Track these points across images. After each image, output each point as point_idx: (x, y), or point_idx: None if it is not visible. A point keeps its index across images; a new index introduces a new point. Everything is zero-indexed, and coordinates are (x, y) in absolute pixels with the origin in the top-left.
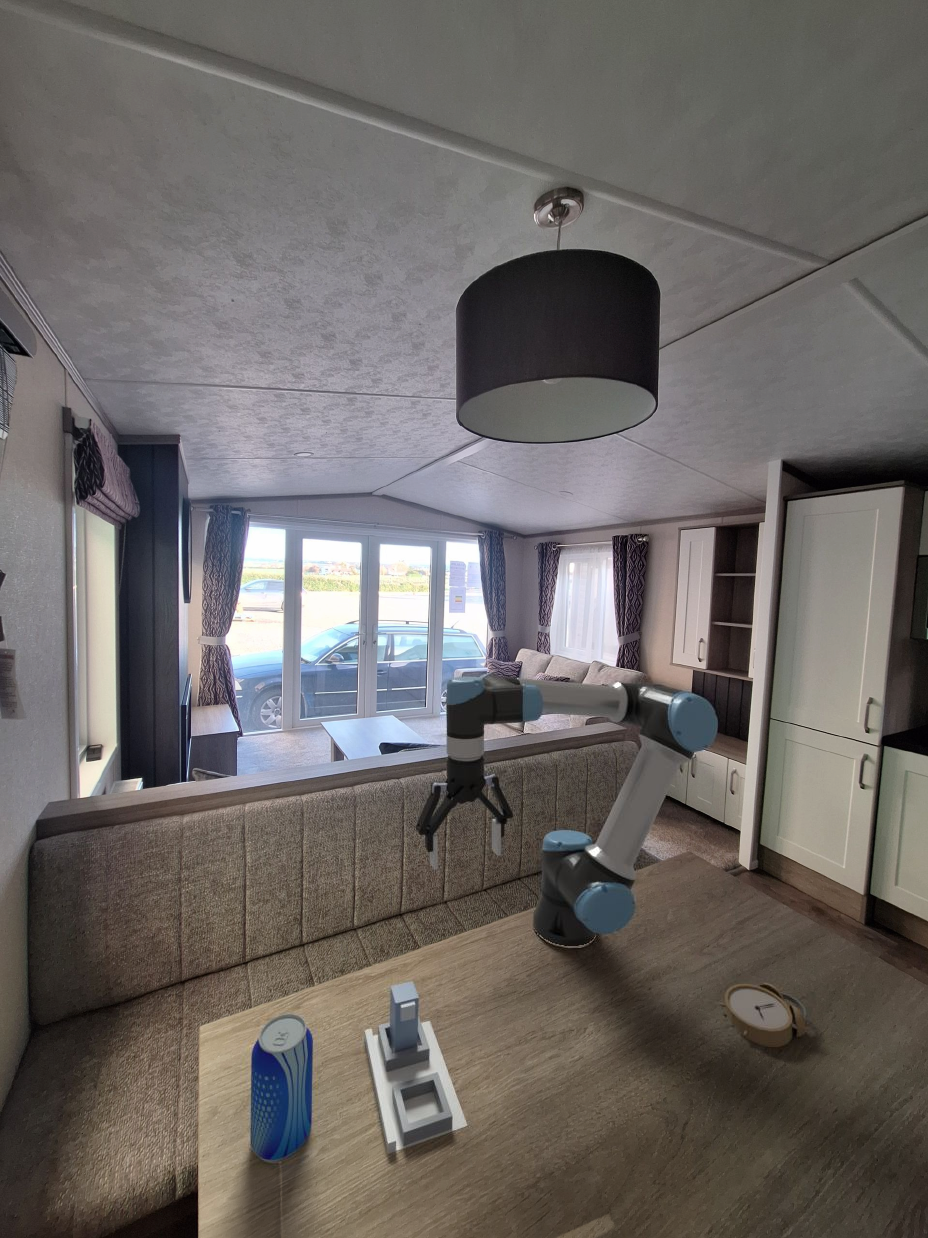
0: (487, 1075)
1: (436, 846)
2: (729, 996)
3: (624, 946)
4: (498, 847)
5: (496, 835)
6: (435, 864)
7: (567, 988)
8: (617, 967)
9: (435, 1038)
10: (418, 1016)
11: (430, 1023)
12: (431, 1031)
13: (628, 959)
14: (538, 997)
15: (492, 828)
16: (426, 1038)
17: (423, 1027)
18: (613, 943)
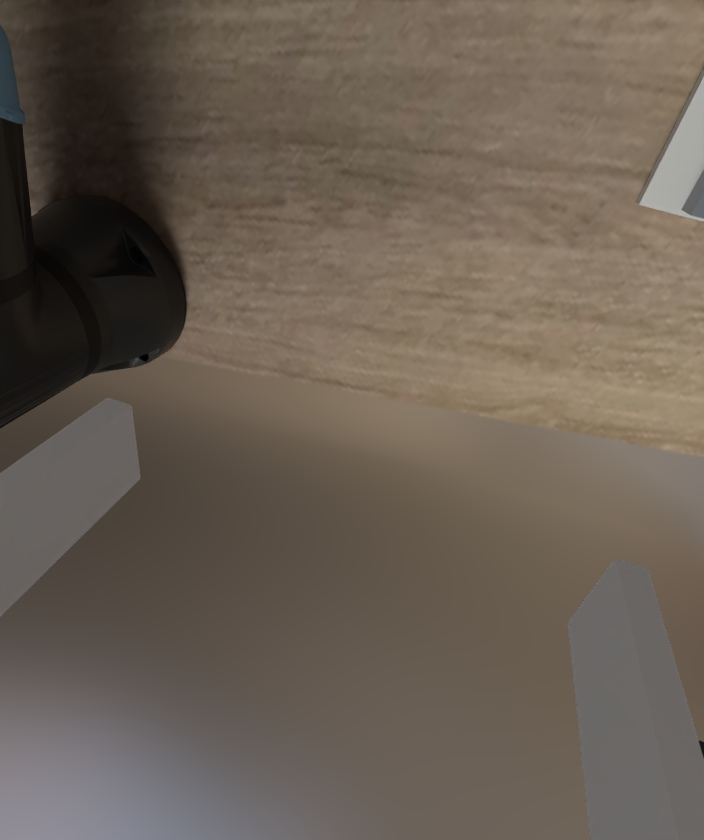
0: None
1: (677, 778)
2: None
3: None
4: (77, 439)
5: (9, 521)
6: (647, 601)
7: (210, 93)
8: (51, 80)
9: (680, 128)
10: (695, 208)
11: (645, 193)
12: (667, 162)
13: None
14: (299, 112)
15: (5, 600)
16: (702, 146)
17: (674, 191)
18: None
